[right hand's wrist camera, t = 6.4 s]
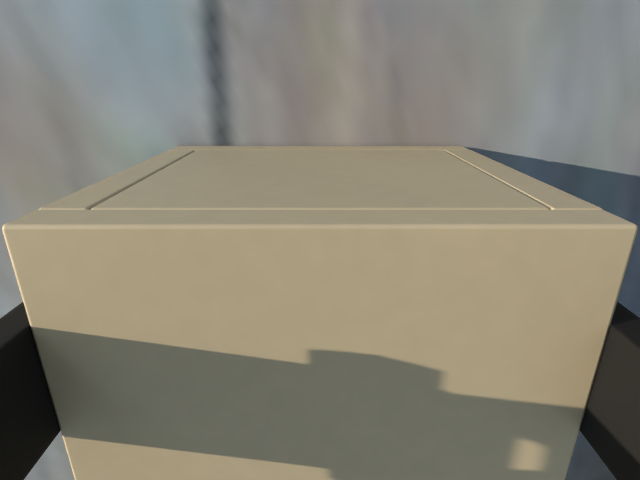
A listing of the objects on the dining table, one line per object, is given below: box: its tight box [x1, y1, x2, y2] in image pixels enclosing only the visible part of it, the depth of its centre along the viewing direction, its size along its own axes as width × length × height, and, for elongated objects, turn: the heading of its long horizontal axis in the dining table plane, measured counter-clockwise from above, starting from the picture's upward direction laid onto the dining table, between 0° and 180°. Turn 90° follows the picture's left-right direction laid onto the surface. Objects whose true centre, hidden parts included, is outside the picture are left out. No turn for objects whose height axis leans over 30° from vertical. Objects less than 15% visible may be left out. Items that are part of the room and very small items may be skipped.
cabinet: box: [2, 146, 638, 480], centre depth 16 cm, size 20×12×10 cm, turn 0°
